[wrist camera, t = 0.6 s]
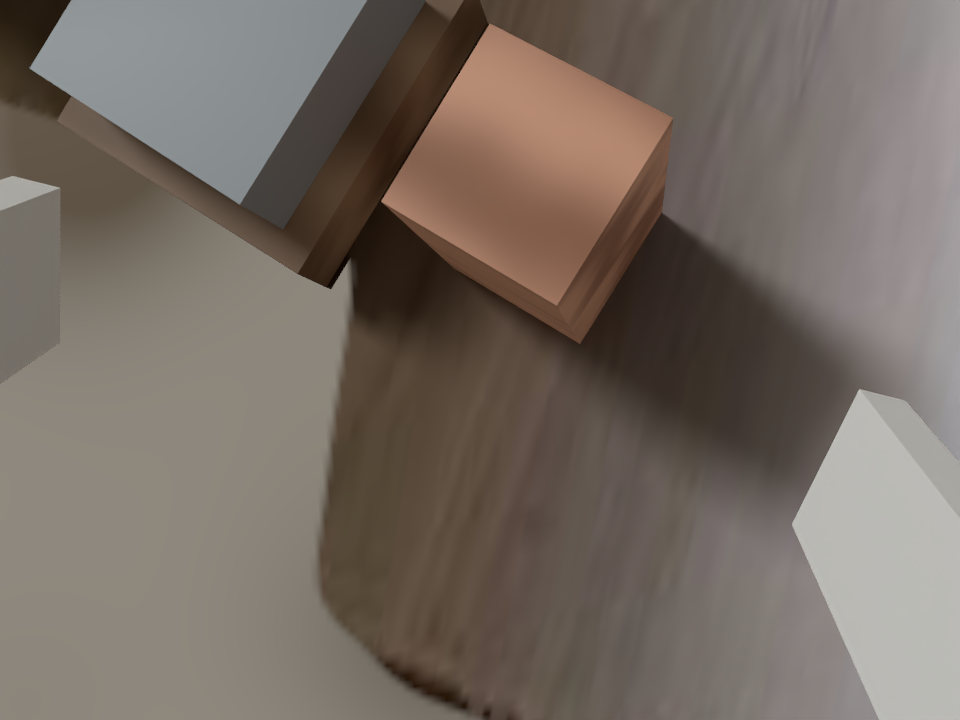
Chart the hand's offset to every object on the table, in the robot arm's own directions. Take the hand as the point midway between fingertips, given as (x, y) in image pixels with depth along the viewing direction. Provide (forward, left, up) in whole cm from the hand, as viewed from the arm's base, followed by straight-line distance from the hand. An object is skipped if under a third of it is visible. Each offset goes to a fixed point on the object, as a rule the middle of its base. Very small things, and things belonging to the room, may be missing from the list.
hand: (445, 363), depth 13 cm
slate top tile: (-6, -21, -20) cm, 29 cm away
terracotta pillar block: (-6, -5, -23) cm, 25 cm away
